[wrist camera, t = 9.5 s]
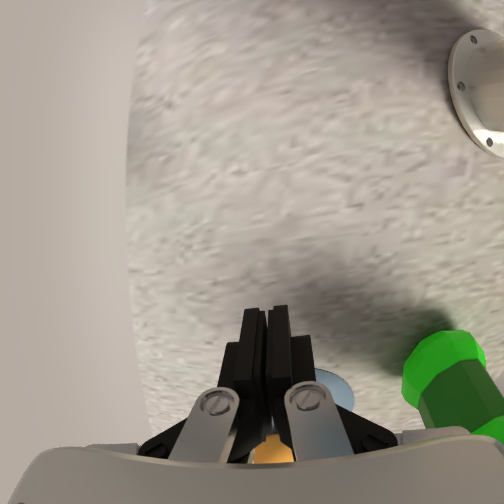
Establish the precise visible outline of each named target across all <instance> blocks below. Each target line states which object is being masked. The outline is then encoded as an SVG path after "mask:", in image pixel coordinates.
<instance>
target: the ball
mask: <svg viewBox="0 0 504 504" xmlns="http://www.w3.org/2000/svg"><path fill="white" fill-rule="evenodd" d="M254 450H255V453H254V458H253V460H254V463H255V464H257V463H282V462H293V457H292V452H291V449H290V448H289V447H287V446H286V445H284V444H283V443H282V442H280V437H279V434H272V435H269V436H266V442H262V443H261V444H259V445H258V446H257V447H256V448H254Z"/></svg>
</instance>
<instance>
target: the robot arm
mask: <svg viewBox="0 0 504 504" xmlns="http://www.w3.org/2000/svg"><path fill="white" fill-rule="evenodd" d="M448 82H449V90H450V94H451V98H452V102H453V105H454V107H455V110H456V112H457V115H458V117H459V119H460V121H461V123H462V125H463V127H464V129H465V130H466V131H467V133H468V134H469V136H470V137H471V139H472V140H473V141H474V142H475V143H476V144H477V145H478V146H479V147H480V148H481V149H483V150H484V151H485V152H487V153H488V154H491V155H493V156H495V157H498V158H503V159H504V37H502V36H500V35H499V34H497V33H494V32H492V31H489V30H483V29H480V30H473V31H470V32H468V33H465V34H464V35H462V36H461V37H459V38H458V40H457V41H456V42H455V44H454V45H453V47H452V50H451V52H450V56H449V61H448ZM272 417H273V422H274V427H275V432H276V433H279V437H280V442H282V443H283V444H284V445H286V446H287V447H289V448H290V449H291V452H292V457H293V462H282V463H257V464H252V462H253V458H254V453H255V450H254V448H256V447H257V446H258V445H259V444H261V443H262V442H266V434H271V433H272ZM8 504H504V445H503V444H502V443H501V442H499V441H498V440H496V439H495V438H492V437H489V436H484V435H471V433H470V432H469V431H468V430H467V429H465V428H463V427H460V426H451V427H442V428H432V429H420V430H403V431H402V433H399V434H393V433H392V432H391V431H389V430H388V429H386V428H384V427H382V426H379V425H377V424H375V423H373V422H371V421H369V420H367V419H365V418H363V417H361V416H359V415H357V414H355V413H353V412H351V411H349V410H347V409H345V408H343V407H341V406H339V405H337V404H335V402H334V400H333V397H332V395H331V392H330V390H329V389H328V387H326V386H325V385H324V384H322V383H319V382H316V375H315V367H314V360H313V352H312V345H311V338H310V335H304V336H296V337H291V331H290V322H289V313H288V305H280V306H274V307H273V310H269V311H268V328H267V322H266V316H265V311H260V310H259V308H250V309H245V310H244V316H243V321H242V327H241V333H240V339H239V342H228V343H227V345H226V349H225V353H224V358H223V362H222V367H221V372H220V376H219V381H218V385H217V387H216V388H212V389H209V390H207V391H205V392H203V393H202V394H201V395H200V396H199V397H198V398H197V400H196V402H195V404H194V406H193V408H192V410H191V412H190V414H189V416H188V418H186V419H184V420H183V421H181V422H179V423H177V424H176V425H174V426H172V427H171V428H169V429H167V430H165V431H164V432H162V433H160V434H158V435H157V436H155V437H153V438H151V439H150V440H148V441H146V442H145V443H144V444H143V445H142V446H139V445H138V444H137V443H131V444H93V445H88V446H86V447H60V448H53V449H49V450H46V451H44V452H42V453H40V454H39V455H38V456H37V457H36V458H35V459H34V460H33V461H32V462H31V464H30V465H29V467H28V468H27V470H26V471H25V473H24V474H23V476H22V478H21V479H20V481H19V483H18V485H17V486H16V488H15V490H14V492H13V494H12V496H11V498H10V500H9V502H8Z"/></svg>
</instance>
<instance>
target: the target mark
mask: <svg viewBox="0 0 504 504" xmlns="http://www.w3.org/2000/svg"><path fill="white" fill-rule="evenodd" d="M315 375H316V382H319V383H322V384H324V385H325V386H326V387H328V389H329V390H330V392H331V395H332V397H333V400H334V402H335V404H337V405H339V406H341V407H343V408H345V409H347V410H349V411H352V409H353V406H354V395H353V391H352V389H351V387H350V386H349V385H348V383H347V382H346V381H344V380H343V379H342V378H340V377H339V376H337V375H335V374H333V373H330V372H327V371H324V370H319V369H315ZM272 434H279V433H276V432H275V427H274V422H273V417H272V433H271V434H266V436H269V435H272Z"/></svg>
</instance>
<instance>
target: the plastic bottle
mask: <svg viewBox="0 0 504 504" xmlns="http://www.w3.org/2000/svg"><path fill="white" fill-rule="evenodd" d="M401 392H402V394H403V397H404V399H405V400H406V401H407V402H408V403H409V404H410V405H412V406H413V407H415V408H416V409H418V410H419V412H420V415H421V417H422V420H423V422H424V425H425V428H426V429H432V428H442V427H451V426H460V427H463V428H465V429H467V430H468V431H469V432H470V433H471V435H484V436H489V437H492V438H495V439H496V440H498V441H499V442H501V443H502V444H503V445H504V397H503V396H502V394H501V393H500V391H499V390H498V388H497V386H496V385H495V383H494V382H493V380H492V378H491V377H490V375H489V374H488V372H487V371H486V360H485V355H484V351H483V350H482V349H481V347H480V346H479V345H478V343H477V342H476V340H475V339H474V338H473V336H472V335H471V334H470V333H469V332H466V331H464V330H450V331H438V332H437V333H433V334H431V335H429V336H428V337H426V338H424V339H423V340H421V341H420V342H419V343H418V345H417V346H416V348H415V349H414V350H413V352H412V353H411V355H410V356H409V357H408V358H407V360H406V361H405V363H404V366H403V379H402V391H401Z"/></svg>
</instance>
